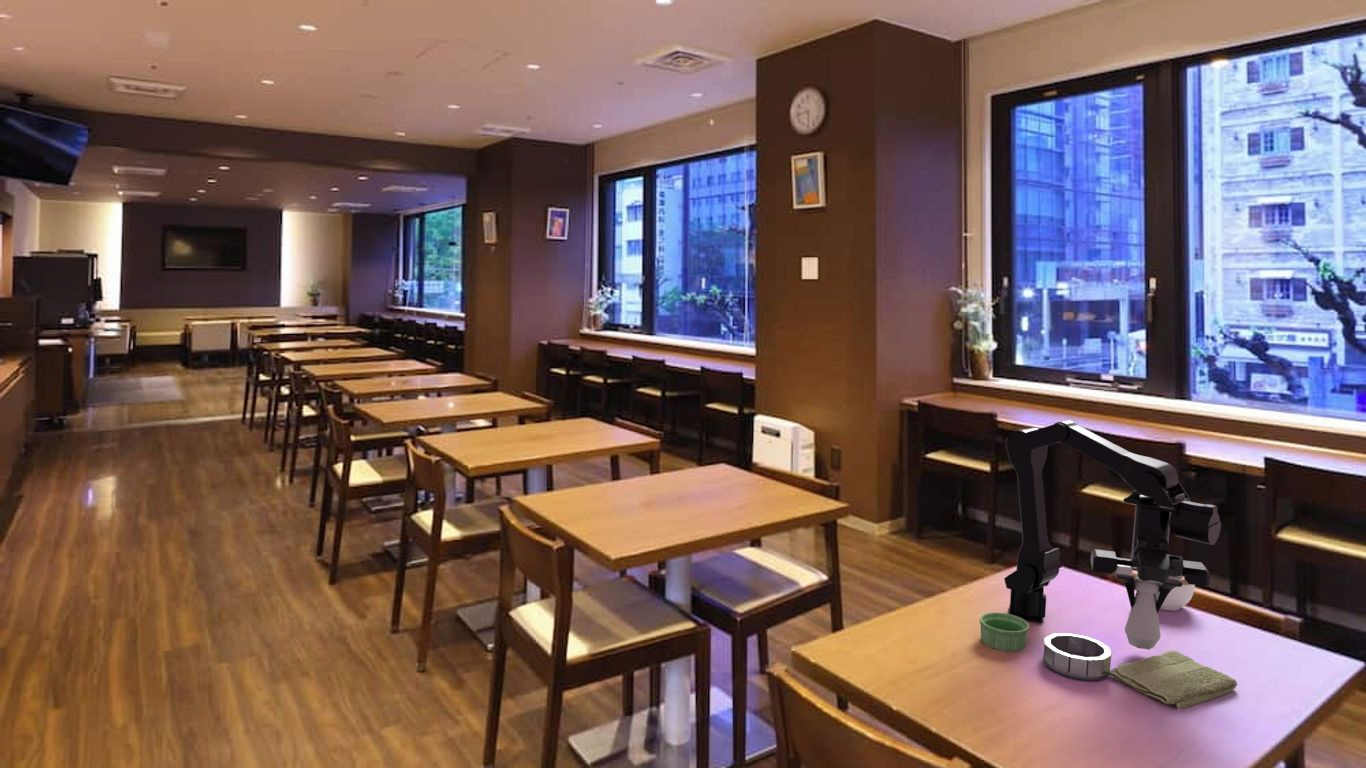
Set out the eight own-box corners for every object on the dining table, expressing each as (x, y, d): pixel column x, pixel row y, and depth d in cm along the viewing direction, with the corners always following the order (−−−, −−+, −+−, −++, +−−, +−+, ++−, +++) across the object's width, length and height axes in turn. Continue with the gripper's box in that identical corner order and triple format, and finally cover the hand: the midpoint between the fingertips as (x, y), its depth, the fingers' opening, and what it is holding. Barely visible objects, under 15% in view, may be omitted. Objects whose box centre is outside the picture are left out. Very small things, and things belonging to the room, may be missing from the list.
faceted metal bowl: (1043, 674, 145) (1044, 652, 145) (1042, 649, 155) (1043, 629, 155) (1112, 686, 141) (1114, 664, 140) (1106, 660, 151) (1108, 639, 150)
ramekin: (977, 648, 155) (978, 626, 155) (979, 630, 164) (980, 609, 163) (1028, 657, 152) (1029, 634, 151) (1027, 638, 160) (1029, 616, 160)
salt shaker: (1150, 638, 155) (1156, 573, 154) (1165, 652, 150) (1171, 584, 148) (1118, 637, 156) (1124, 571, 154) (1131, 650, 150) (1137, 582, 149)
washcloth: (1103, 679, 145) (1105, 661, 144) (1172, 662, 151) (1173, 645, 151) (1172, 715, 133) (1174, 696, 132) (1243, 695, 139) (1245, 677, 139)
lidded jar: (1129, 604, 178) (1132, 562, 177) (1146, 592, 185) (1149, 552, 184) (1184, 619, 170) (1188, 576, 169) (1199, 606, 177) (1203, 564, 176)
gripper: (1098, 536, 146) (1091, 618, 148) (1220, 550, 139) (1211, 637, 141) (1093, 519, 157) (1087, 597, 158) (1206, 532, 149) (1198, 613, 151)
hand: (1144, 611), depth 152 cm, fingers closed on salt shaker, 3 cm apart
